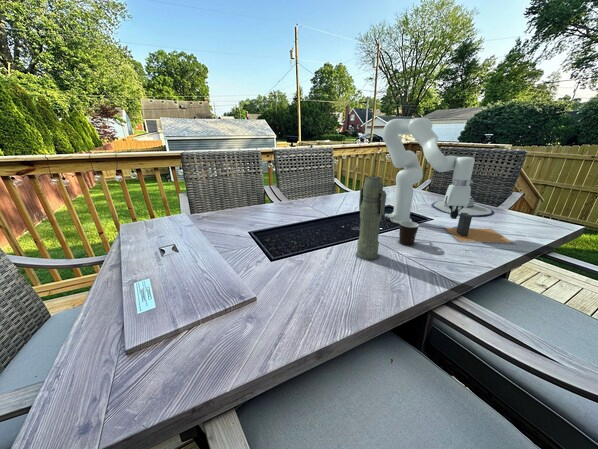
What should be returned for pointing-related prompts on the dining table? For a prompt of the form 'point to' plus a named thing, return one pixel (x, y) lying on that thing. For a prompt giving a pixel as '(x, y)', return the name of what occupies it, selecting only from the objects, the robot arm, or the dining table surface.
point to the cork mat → (479, 235)
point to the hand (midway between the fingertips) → (453, 218)
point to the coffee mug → (407, 232)
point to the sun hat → (472, 208)
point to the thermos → (370, 216)
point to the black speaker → (464, 224)
